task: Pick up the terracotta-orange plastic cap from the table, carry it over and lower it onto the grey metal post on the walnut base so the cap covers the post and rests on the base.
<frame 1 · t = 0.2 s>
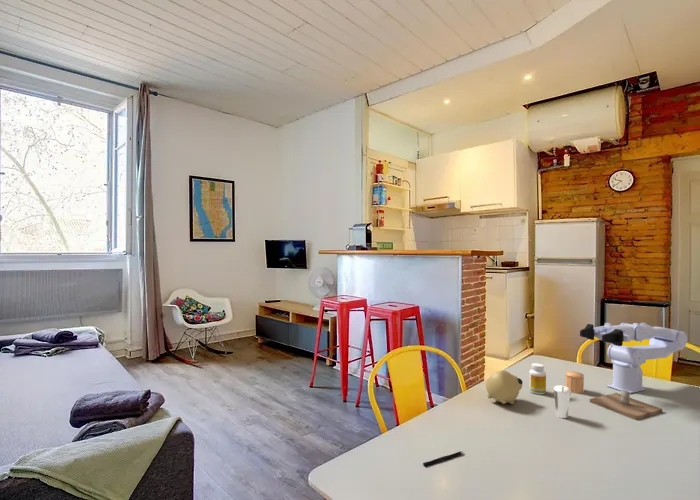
hand: (591, 335, 131), 21 cm above the table, tool horizontal, fingers open, 7 cm apart
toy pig: (503, 402, 126), on the table
milkshake: (561, 417, 115), on the table
wire nut cap: (574, 390, 137), on the table
post block: (625, 406, 123), on the table
supplement bottle: (537, 392, 135), on the table
black stick: (444, 461, 91), on the table
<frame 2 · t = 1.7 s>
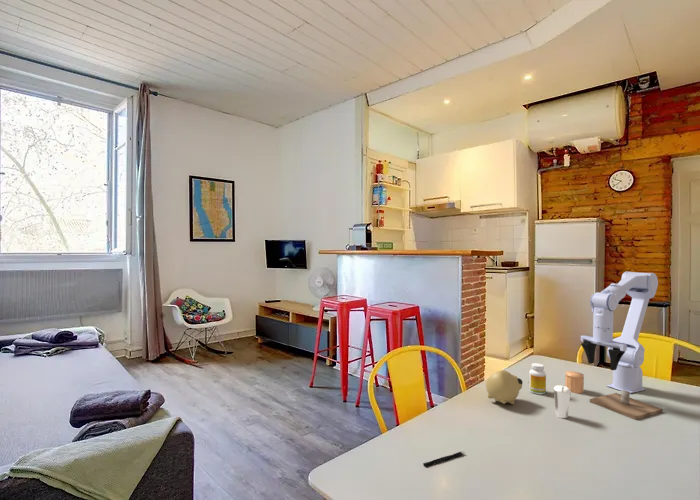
hand: (602, 366, 131), 10 cm above the table, tool pointing down, fingers open, 7 cm apart
nothing on the table moved.
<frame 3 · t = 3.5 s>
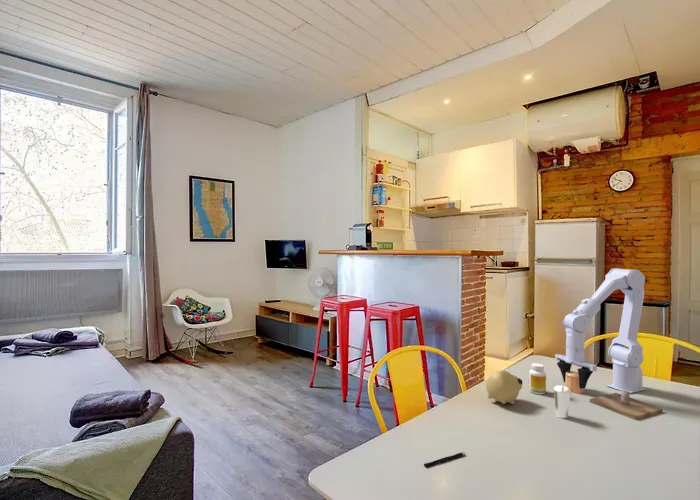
hand: (574, 384, 137), 2 cm above the table, tool pointing down, fingers closed on wire nut cap, 6 cm apart
wire nut cap: (574, 390, 137), on the table, touching gripper
everything else where it was.
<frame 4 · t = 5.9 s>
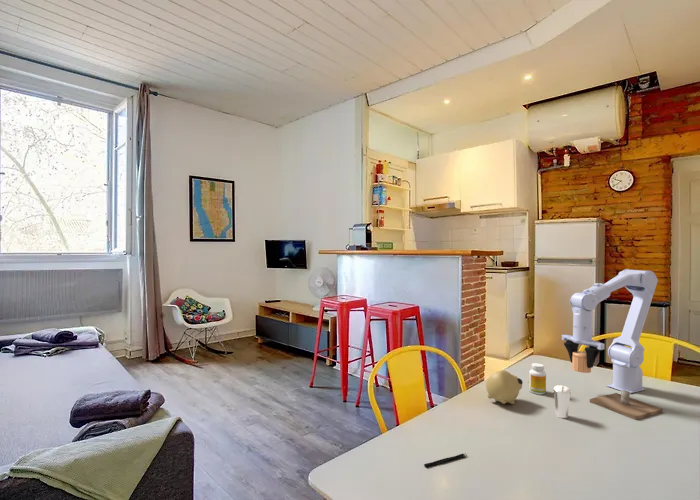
hand: (581, 364, 135), 10 cm above the table, tool pointing down, fingers closed on wire nut cap, 6 cm apart
wire nut cap: (581, 370, 135), point 8 cm above the table, touching gripper
everything else where it was.
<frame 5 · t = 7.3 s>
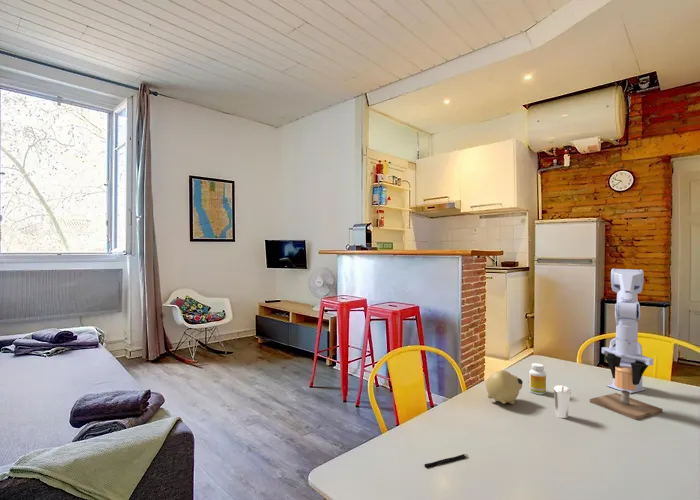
hand: (625, 381, 123), 8 cm above the table, tool pointing down, fingers closed on wire nut cap, 6 cm apart
wire nut cap: (625, 386, 123), point 7 cm above the table, touching gripper
everything else where it was.
when the fingers open (4 cm above the table, at t = 8.6 s): wire nut cap stays where it is, resting on post block.
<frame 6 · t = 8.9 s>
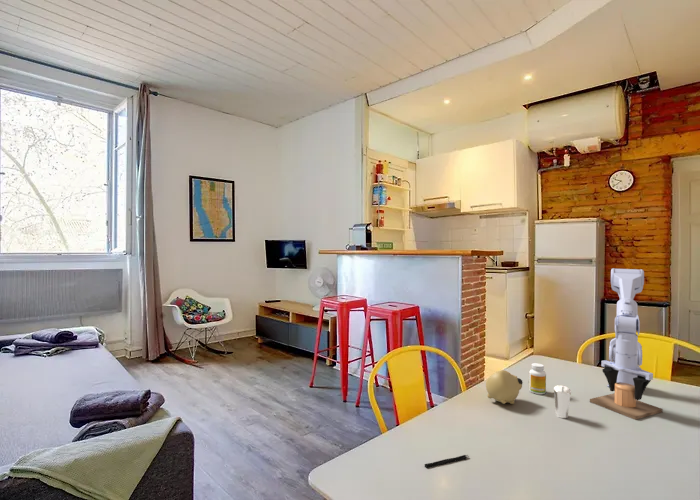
hand: (625, 394, 123), 4 cm above the table, tool pointing down, fingers open, 7 cm apart
wire nut cap: (624, 403, 123), point 1 cm above the table, touching post block
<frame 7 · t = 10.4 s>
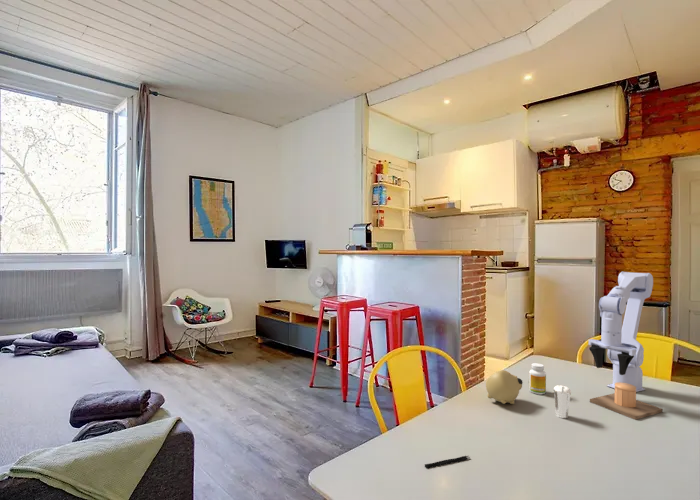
hand: (610, 370, 130), 9 cm above the table, tool pointing down, fingers open, 7 cm apart
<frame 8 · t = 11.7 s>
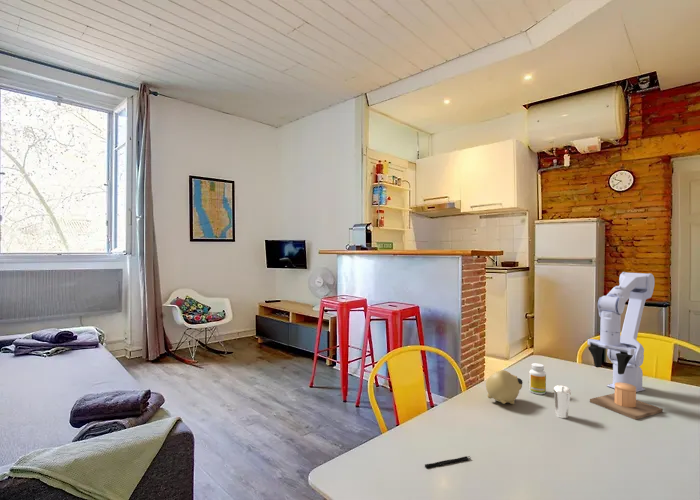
hand: (609, 370, 130), 9 cm above the table, tool pointing down, fingers open, 7 cm apart
at the end: wire nut cap 0.1 cm from the post block (horizontally); wire nut cap point 1.0 cm above the table; wire nut cap tilted 0° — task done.
